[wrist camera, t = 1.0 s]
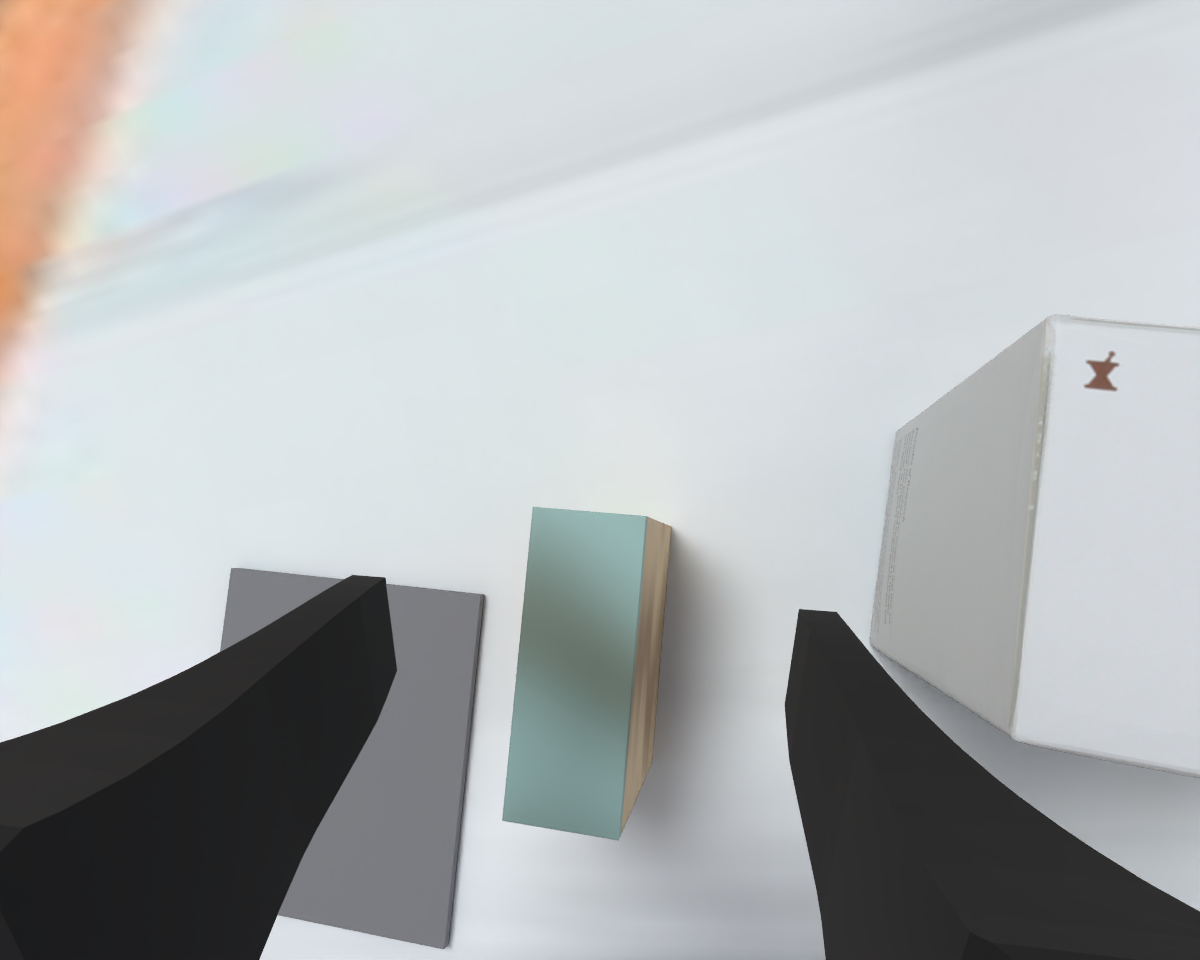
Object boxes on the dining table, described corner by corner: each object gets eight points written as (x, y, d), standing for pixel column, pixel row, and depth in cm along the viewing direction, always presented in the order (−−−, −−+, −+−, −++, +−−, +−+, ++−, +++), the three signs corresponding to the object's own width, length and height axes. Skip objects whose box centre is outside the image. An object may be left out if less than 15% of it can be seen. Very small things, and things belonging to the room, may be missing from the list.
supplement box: (862, 648, 24) (991, 745, 12) (893, 425, 25) (1047, 295, 12) (1113, 694, 23) (1560, 860, 10) (1140, 456, 23) (1596, 344, 11)
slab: (652, 762, 25) (618, 840, 18) (566, 749, 26) (502, 820, 19) (671, 526, 26) (645, 516, 19) (587, 519, 26) (533, 507, 19)
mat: (448, 943, 26) (444, 949, 25) (195, 891, 28) (188, 896, 27) (484, 594, 27) (480, 595, 26) (237, 568, 29) (231, 568, 28)
